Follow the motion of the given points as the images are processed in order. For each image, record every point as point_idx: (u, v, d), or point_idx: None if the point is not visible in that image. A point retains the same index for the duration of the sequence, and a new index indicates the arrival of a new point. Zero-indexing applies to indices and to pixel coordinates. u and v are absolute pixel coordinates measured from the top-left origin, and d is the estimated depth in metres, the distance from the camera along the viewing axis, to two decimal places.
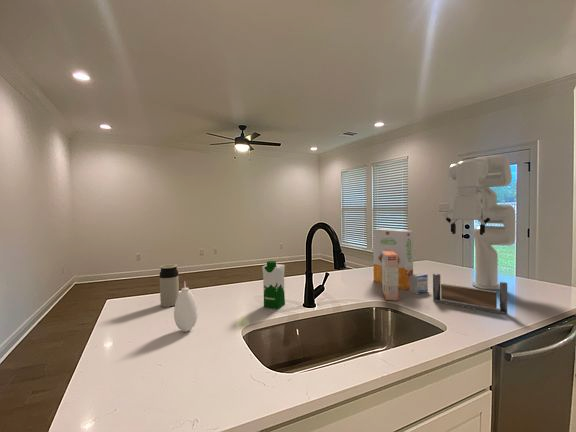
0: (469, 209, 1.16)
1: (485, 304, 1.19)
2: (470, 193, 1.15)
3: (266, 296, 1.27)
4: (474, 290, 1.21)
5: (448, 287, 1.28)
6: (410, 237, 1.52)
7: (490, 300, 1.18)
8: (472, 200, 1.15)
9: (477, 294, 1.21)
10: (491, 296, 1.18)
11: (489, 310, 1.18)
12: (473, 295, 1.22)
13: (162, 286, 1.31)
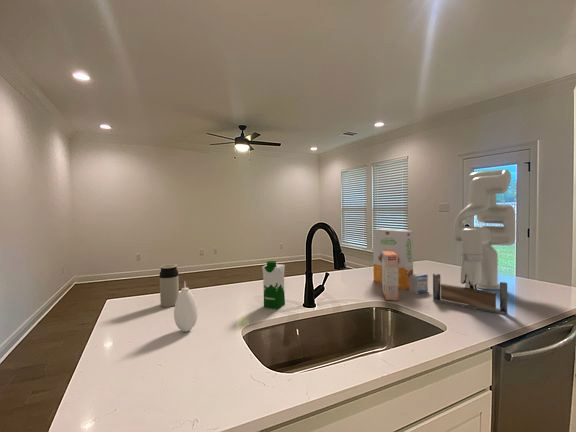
0: (479, 274, 1.24)
1: (484, 305, 1.18)
2: None
3: (266, 296, 1.27)
4: (473, 291, 1.20)
5: (447, 287, 1.28)
6: (410, 237, 1.52)
7: (489, 301, 1.17)
8: (480, 265, 1.24)
9: (476, 295, 1.20)
10: (490, 297, 1.16)
11: (489, 310, 1.18)
12: (472, 296, 1.21)
13: (162, 286, 1.31)
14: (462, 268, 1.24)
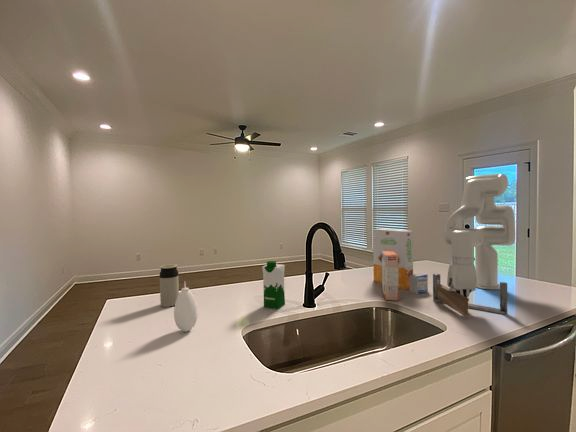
0: (469, 279, 1.17)
1: (458, 310, 1.13)
2: (472, 264, 1.16)
3: (266, 296, 1.27)
4: (452, 294, 1.17)
5: (440, 288, 1.27)
6: (410, 237, 1.52)
7: (461, 306, 1.12)
8: (471, 270, 1.17)
9: (454, 298, 1.16)
10: (461, 302, 1.11)
11: (489, 310, 1.18)
12: (452, 299, 1.18)
13: (162, 286, 1.31)
14: (448, 271, 1.20)
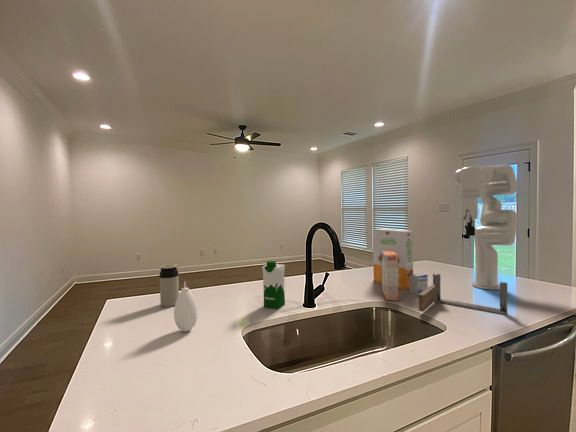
0: (477, 210, 1.32)
1: None
2: None
3: (266, 296, 1.27)
4: (423, 291, 1.21)
5: None
6: (410, 237, 1.52)
7: None
8: (477, 202, 1.32)
9: None
10: None
11: (489, 310, 1.18)
12: None
13: (162, 286, 1.31)
14: (463, 204, 1.30)
